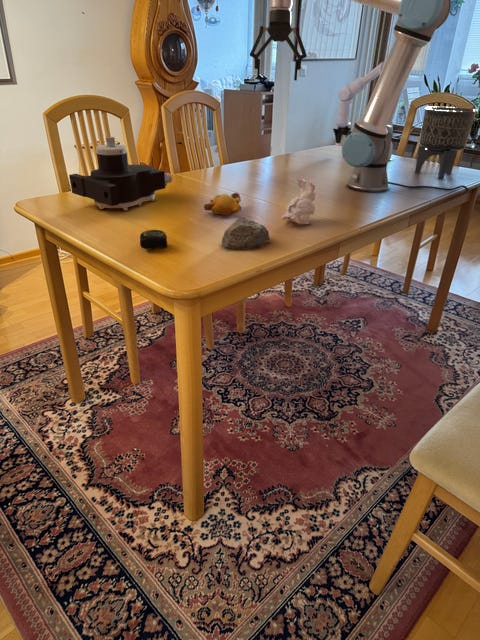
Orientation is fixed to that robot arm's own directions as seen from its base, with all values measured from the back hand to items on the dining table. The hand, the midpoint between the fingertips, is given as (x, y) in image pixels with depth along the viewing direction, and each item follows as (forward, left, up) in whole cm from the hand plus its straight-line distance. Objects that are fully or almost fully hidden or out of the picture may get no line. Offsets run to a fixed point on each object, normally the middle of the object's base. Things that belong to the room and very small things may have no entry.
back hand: (340, 142), depth 237 cm
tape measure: (+126, +97, -6) cm, 159 cm away
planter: (-11, +57, -6) cm, 58 cm away
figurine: (+80, +92, -6) cm, 122 cm away
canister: (0, 0, -1) cm, 1 cm away
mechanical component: (+122, +53, -6) cm, 133 cm away
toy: (+97, +75, -6) cm, 122 cm away
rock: (+102, +103, -6) cm, 146 cm away
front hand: (+63, +42, +31) cm, 82 cm away
